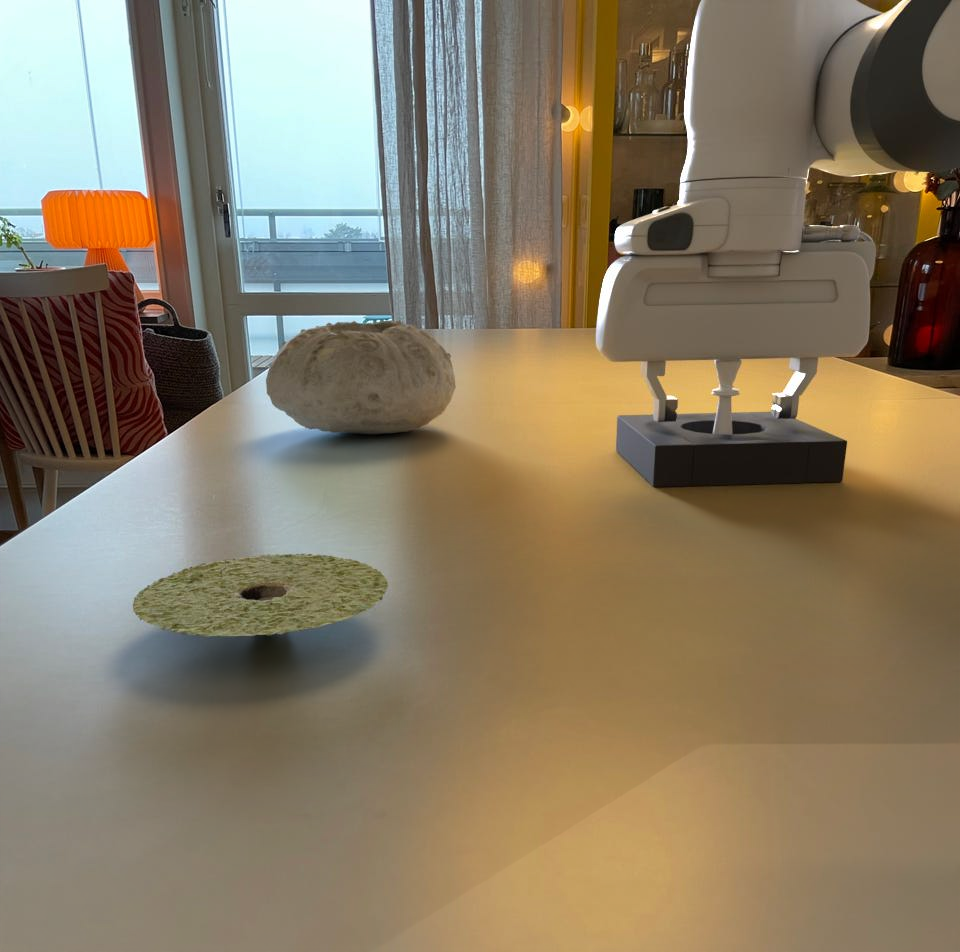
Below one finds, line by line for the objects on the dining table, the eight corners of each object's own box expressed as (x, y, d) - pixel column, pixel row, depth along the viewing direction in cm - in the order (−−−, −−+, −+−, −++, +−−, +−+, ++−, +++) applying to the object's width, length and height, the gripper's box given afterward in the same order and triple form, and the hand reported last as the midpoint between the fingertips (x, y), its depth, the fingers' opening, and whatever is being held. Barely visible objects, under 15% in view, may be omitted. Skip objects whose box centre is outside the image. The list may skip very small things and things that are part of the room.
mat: (440, 625, 44) (439, 585, 44) (226, 703, 37) (220, 656, 36) (296, 574, 52) (293, 539, 51) (94, 631, 44) (87, 590, 44)
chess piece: (683, 469, 75) (692, 335, 72) (693, 457, 80) (702, 330, 76) (748, 473, 74) (760, 336, 70) (755, 460, 78) (767, 331, 74)
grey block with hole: (775, 446, 84) (779, 411, 82) (842, 482, 71) (847, 440, 69) (615, 450, 83) (617, 415, 82) (653, 487, 70) (655, 445, 69)
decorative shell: (452, 447, 85) (449, 328, 81) (251, 449, 86) (239, 331, 82) (460, 415, 102) (458, 315, 98) (292, 417, 102) (283, 317, 98)
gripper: (860, 225, 74) (838, 410, 79) (594, 229, 73) (589, 416, 78) (899, 223, 68) (872, 422, 73) (610, 227, 67) (603, 429, 72)
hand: (724, 419), depth 75 cm, fingers open, 8 cm apart
